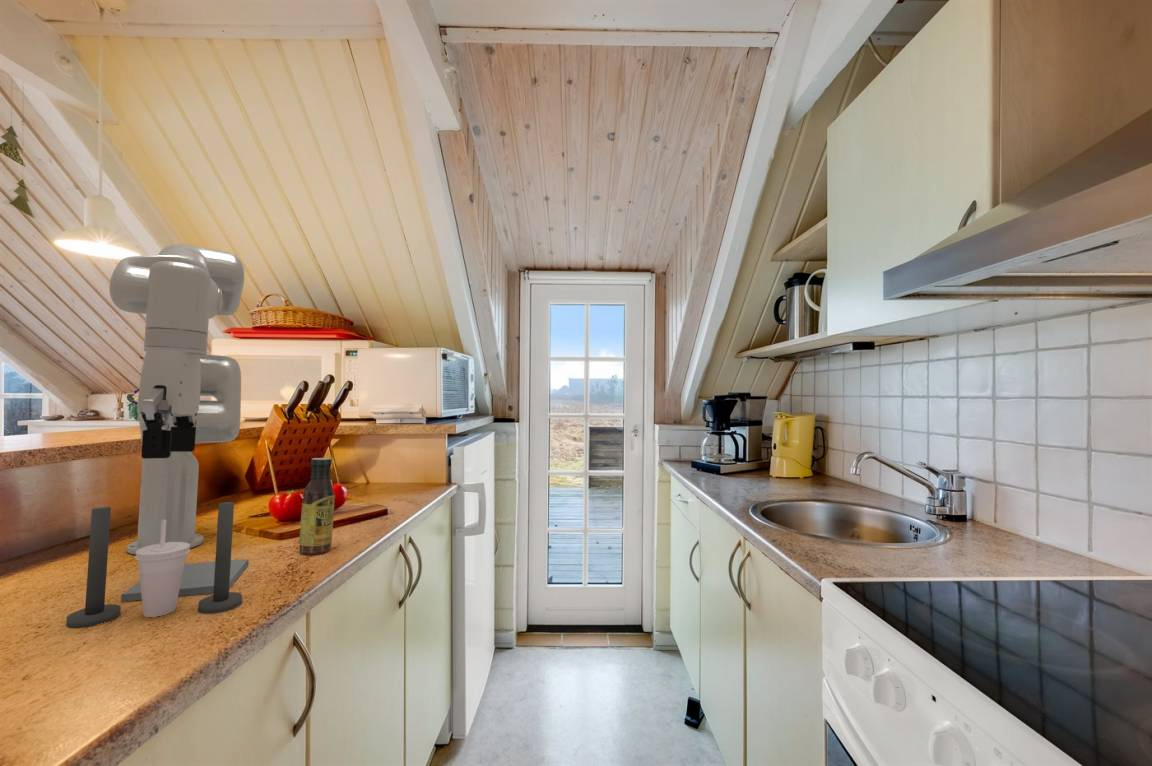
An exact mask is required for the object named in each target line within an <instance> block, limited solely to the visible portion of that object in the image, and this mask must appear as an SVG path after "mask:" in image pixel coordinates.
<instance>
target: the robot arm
mask: <svg viewBox="0 0 1152 766" xmlns="http://www.w3.org/2000/svg"><path fill="white" fill-rule="evenodd" d="M244 283H245V269H244V265H243V263H242V261H241V259H240V257H238V256H237V255H236V254H234V253H231V252H228V251H225V250H224V251H223V250H219V249H218V250H217V249H213V248H207V247H203V246H202V247H201V246H198V245H197V246H196V245H191V244H182V243H180V244H179V243H175V244H169V245H167V246H165V247H164V248H162V249H161V250H160V252H159V253H157V254H154V255H136V256H135V255H134V256H127V257H124V258H122V259H121V260H120V261H119V262H118V263H117V265H116V266H115V268H114V270H113V271H112V274H111V276H110V280H109V288H108V289H109V295H110V299H111V302H112V304H114V305H115V307H117V308H118V309H119V310H121V311H123V312H128V313H133V314H140V315H141V314H142V315H145V330H144V341H143V342H144V343H143V346H144V347H143V351H144V352H145V356H144V359H143V362H142V363H143V364H142V369H141V375H140V382H139V388H138V395H137V405H136V412H137V414H138V415H139V419H138V422H139V423H138V424H139V429H140V430H139V431H140V436H141V437H140V439H141V440H140V441H141V477H140V489H139V490H140V493H139V507H138V508H139V511H138V522H137V523H138V526H137V539H136V540H135V541H132V542H130V543H129V544H127V545H126V552H127V553H128V554H132V555H136V551H137V550H138V549H140V548H143V547H146V546H150V545H154V544H160V539H161V523H162V520H164V519H166V535H165V543H168V542H185V543H188V544H190V549H191V548H194V547H197V546H199V545H201V544H202V543H203V542H204V536H203V535H201V534H199V533H196V523H197V522H196V520H197V518H196V517H197V505H198V504H197V502H198V486H199V485H198V484H199V473H200V472H199V469H200V468H199V467H200V464H199V461H198V459H197V457H196V456H195V455H194V454H193V453H192V452H193V451H195V450H196V444H213V443H227V442H231V441H234V440H235V439H236V438H237V437H238V435H239V433H240V430H241V429H240V428H241V415H242V414H241V409H242V408H241V407H242V404H241V403H242V402H241V401H242V371H241V367H240V364H239V362H238V361H237V360H236V359H234V357H233V358H232V356H231V357H230V356H225V355H217V354H207V351H208V338H209V336H208V335H209V321H210V320H211V319H212V318H215V316H232V315H234V314H235V313H236V312H237V311H238V310H239V307H240V304H241V299H242V294H243V289H244V285H245V284H244ZM202 396H203V397H204V396H205V397H213V398H215V400H205V399H204V400H201V397H202Z"/></svg>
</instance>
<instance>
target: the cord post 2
mask: <svg viewBox="0 0 1152 766" xmlns="http://www.w3.org/2000/svg"><path fill="white" fill-rule="evenodd" d="M217 509H218V510H217V512H218V513H217V526H216V528H217V529H216V530H217V531H216V544H215V560H214V562H215V575H214V592H213V593H212V594H213V595H209V596H206V597H204V598H202V599H201V600H199V601H198V604H197V611H198V613H202V614H219V613H222V612H227V611H231V610H233V609H236V608H238V607H239V606H240V605H242V604H243V594H242V593H241V592H236V591H235V592H233V591H231V592H230V588H229V584H230V566H231V560H232V547H233V546H232V545H233V528H234V512H235V511H234V510H235V502H233V501H227V502H226V501H225V502H220V503H218V508H217Z"/></svg>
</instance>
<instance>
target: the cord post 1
mask: <svg viewBox="0 0 1152 766" xmlns="http://www.w3.org/2000/svg"><path fill="white" fill-rule="evenodd" d="M111 509H112V507H109V506H104V507H101V506H100V507H95V508H92V509H91V515H90V516H91V518H90V534H89V545H88V547H89V548H88V560H87V561H88V562H87V576H86V587H85V588H86V590H85V604H84V608H82V609H79V610H76V611H74V612H72V613H70V614H68V615H67V616H66V622H65V626H66V627H67V628H70V629H83V628H82V627H85V628H89V626H91V627H95V626H94V625H96V626H98V625H97V624H100V625H102V624H101V623H103V624H105V623H104V622H106V623H109V622H112V621H114V620H116V619H117V618H119V617H120V616H121V612H122V611H121V605H119V604H116V603H115V604H114V603H107V604H105V600H106V588H107V587H106V586H107V573H108V572H107V571H108V558H109V557H108V556H109V555H108V554H109V542H110V541H109V538H110V528H111V527H110V525H111V512H112V510H111ZM119 615H120V616H119ZM118 616H119V617H118ZM115 618H116V619H115ZM113 619H114V620H113ZM108 621H109V622H108Z"/></svg>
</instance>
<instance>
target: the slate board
mask: <svg viewBox="0 0 1152 766" xmlns="http://www.w3.org/2000/svg"><path fill="white" fill-rule="evenodd" d="M249 560H250V558H245V559H244V558H241V559H231V566H230V584H229V589H231V587H232V586H233V585H234V583H235V582H236V581H237V580H238V579H239V577H240V576H241V575H242V574H243V572H244V571H245V570H246V569H245V568H247V567H249ZM244 569H245V570H244ZM214 575H215V561H204V562H193V563H191V562H190V563H185V565H184V570H183V575H182V580H181V585H180V589H179V594H178V596H179V597H187V596H189V595H190V596H197V595H198V596H199V595H208V594H213V592H214ZM120 596H121V597H120V603H125V602H127V601H128V602H135V600H139V601H142V596H141V586H140V580H138V581H137V582H136V583H135V584H133V585H132V586H131V587H129V588H128V589H126V590H125V591H124V592H122V594H121V595H120Z"/></svg>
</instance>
